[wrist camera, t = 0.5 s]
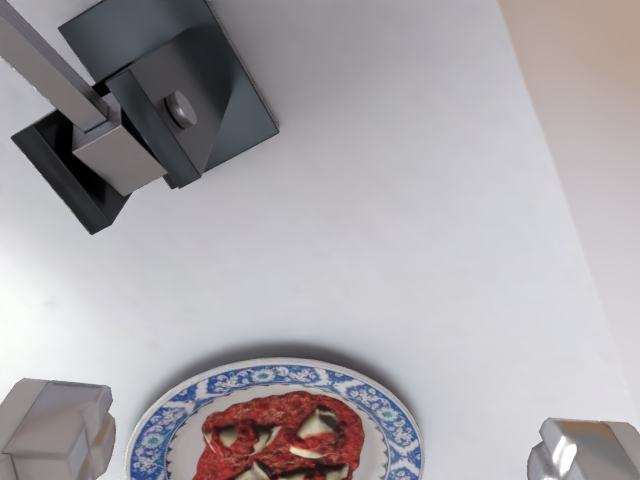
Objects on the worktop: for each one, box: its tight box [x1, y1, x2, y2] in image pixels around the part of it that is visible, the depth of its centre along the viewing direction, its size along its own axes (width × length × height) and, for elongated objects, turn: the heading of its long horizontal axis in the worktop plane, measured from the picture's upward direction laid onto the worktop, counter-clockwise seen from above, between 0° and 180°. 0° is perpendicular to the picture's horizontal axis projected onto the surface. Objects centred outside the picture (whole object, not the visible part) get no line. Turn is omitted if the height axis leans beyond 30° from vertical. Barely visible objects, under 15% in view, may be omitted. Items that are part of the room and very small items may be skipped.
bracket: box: [11, 0, 279, 235], centre depth 25 cm, size 11×8×15 cm
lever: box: [0, 0, 167, 196], centre depth 17 cm, size 13×4×4 cm, turn 26°
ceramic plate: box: [124, 357, 425, 480], centre depth 46 cm, size 26×26×3 cm
